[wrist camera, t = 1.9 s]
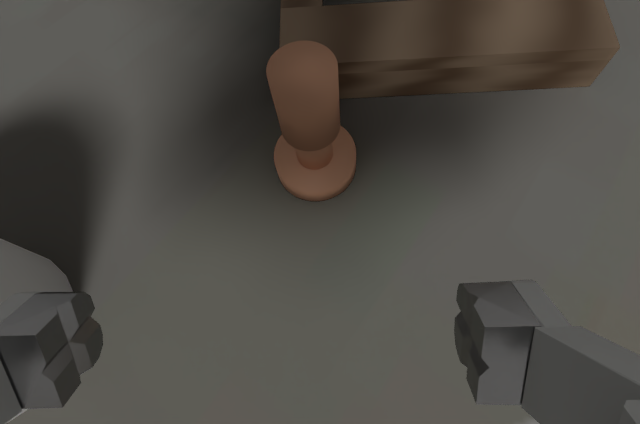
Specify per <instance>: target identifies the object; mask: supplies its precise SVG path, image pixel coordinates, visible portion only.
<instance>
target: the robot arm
mask: <svg viewBox="0 0 640 424" xmlns="http://www.w3.org/2000/svg"><path fill="white" fill-rule="evenodd" d="M456 301H457V303H458V305H459V308H460V310H461V312H460V313H459V314H458V315H457V316H456V317H455V327H454V334H455V345H456V349H457V354H458V356H459V359H460V362H461V363H462V364H463V365H465V366H466V367H467V378H466V379H467V381H468V384H469V386H470V389H471V392H472V394H473V397H474V400H475V402H476V404H489V405H522V406H521V407H522V408H523V409H524V410H525V411H526V412H527V413H528V414H530V415H531V416H532V417H533V418H534V419H535V420H536V421H537V422H539V423H540V424H640V355H639V354H636V353H634V352H632V351H630V350H628V349H626V348H624V347H622V346H620V345H618V344H616V343H614V342H612V341H610V340H608V339H606V338H604V337H602V336H599V335H597V334H595V333H593V332H591V331H589V330H587V329H585V328H583V327H581V326H572V325H571V324H570V323H569V322H568V320H567V319H566V318H565V317H564V315H563V314H562V313H561V312H560V310H559V309H558V308H557V307H556V305H555V304H554V303H553V302H552V300H551V299H550V298H549V297H548V296H547V294H546V293H545V292H544V291H543V289H542V288H541V287H540V286H539V284H538V283H537V282H536V281H534V280H517V281H501V282H480V283H461V284H459V286H458V290H457V299H456ZM94 309H95V307H94V304H93V301H92V299H91V296H90V295H88V294H87V293H85V292H21V293H16V294H13V295H11V296H10V297H9V298H8V299H6V300H5V301H4V302H3V303H1V304H0V424H5V423H7V422H8V421H9V420H11V419H12V418H13V417H15V416H16V415H18V414H19V413H20V412H22V409H37V408H63V406H64V405H65V404H66V402H67V401H68V400H69V398H70V397H71V396H72V394H73V393H74V392H75V390H76V389H77V388H78V386H79V385H80V384H81V380H80V375H81V374H82V373H84V372H86V371H87V370H89V369H91V368H92V367H93V366H94V364H95V363H96V361H97V360H98V358H99V356H100V353H101V350H102V346H103V334H102V330H101V327H100V324H99V323H97V322H96V321H95V320H94V319H93V318H92V317H91V315H92V313H93V311H94Z"/></svg>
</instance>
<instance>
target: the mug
mask: <svg viewBox="0 0 640 424" xmlns="http://www.w3.org/2000/svg"><path fill="white" fill-rule="evenodd" d="M21 292H73V290H72V288H71V285H70V283H69V281H68V278H67V276H66V275H65V274H64V273H63V272H62V271H61V270H60V269H59V268H58V267H57V266H56V265H55V264H54V263H53V262H52V261H51V260H50V259H48V258H45V257H43V256H41V255H38V254H36V253H33V252H31V251H29V250H26V249H24V248H22V247H19V246H17V245H15V244H12V243H10V242H8V241H5V240H3V239H1V238H0V304H1V303H3V302H4V301H5V300H6V299H8V298H9V297H10V296H11V295H13V294H16V293H21ZM26 410H28V409H22V412H20V413H19V414H18V415H20V414H22V413H23V412H25V411H26ZM18 415H16V416H15V417H17V416H18ZM15 417H13V418H12V419H14V418H15ZM12 419H11V420H12ZM11 420H9V421H11ZM9 421H8V422H9ZM5 424H6V423H5Z"/></svg>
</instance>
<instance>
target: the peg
mask: <svg viewBox="0 0 640 424" xmlns="http://www.w3.org/2000/svg"><path fill="white" fill-rule="evenodd" d="M266 75H267V80H268V83H269V87H270V91H271V94H272V98H273V102H274V106H275V109H276V113H277V117H278V121H279V124H280V128H281V132H282V135H281V136H280V138H279V139H278V141H277V143H276V146H275V150H274V163H275V167H276V170H277V173H278V176H279V178H280V181H281V183H282V185H283V186H284V187H285V189H286V190H287V191H288V192H290V193H291V194H292V195H294V196H296V197H298V198H300V199H303V200H307V201H324V200H328V199H331V198H333V197H335V196H337V195H339V194H340V193H342V192H343V191H344V190H345V189H346V188H347V187H348V186H349V184H350V183H351V182H352V179H353V177H354V174H355V170H356V146H355V143H354V141H353V138H352V137H351V135H350V134H349V133H348V131H347V130H346V129H344V128H343V127H342V126H341V125H340V106H339V80H338V63H337V59H336V57H335V55H334V54H333V52H332V51H331V50H330V49H329V48H327V47H326V46H324V45H322V44H320V43H318V42H314V41H307V40H305V41H295V42H291V43H288V44H286V45H284V46H282V47H281V48H279V49H278V50H277V51H276V52H274V54H273V55H272V56H271V58H270V59H269V61H268V64H267V68H266Z"/></svg>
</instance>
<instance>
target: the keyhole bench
mask: <svg viewBox="0 0 640 424" xmlns="http://www.w3.org/2000/svg"><path fill="white" fill-rule="evenodd" d="M305 40H307V41H314V42H318V43H320V44H322V45H324V46H326V47H327V48H329V49H330V50H331V51H332V52H333V54H334V55H335V57H336V59H337V63H338V80H339V99H347V98H367V97H387V96H407V95H427V94H447V93H467V92H487V91H507V90H527V89H547V88H567V87H587V86H590V85H591V84H592V83H593V81H594V80H595V79H596V77H597V76H598V75H599V74H600V72H601V71H602V70H603V69H604V67H605V66H606V65H607V64H608V62H609V61H610V60H611V59H612V57H613V56H614V55H615V53H616V52H617V51H618V50H619V48H620V45H619V42H618V39H617V37H616V34H615V31H614V28H613V25H612V23H611V20H610V17H609V14H608V11H607V8H606V6H605V3H604V0H407V1H391V2H375V3H359V4H343V5H327V6H323V0H281V11H280V43H279V48H281V47H282V46H284V45H286V44H288V43H291V42H295V41H305Z"/></svg>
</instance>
